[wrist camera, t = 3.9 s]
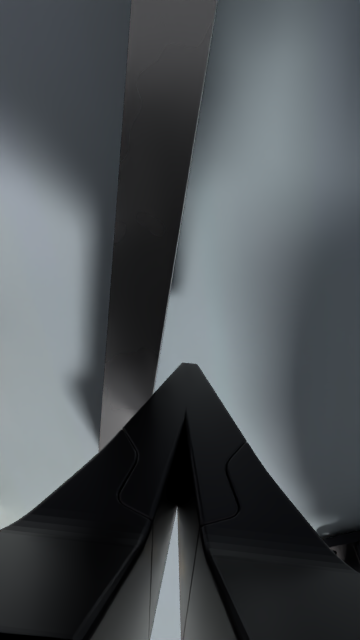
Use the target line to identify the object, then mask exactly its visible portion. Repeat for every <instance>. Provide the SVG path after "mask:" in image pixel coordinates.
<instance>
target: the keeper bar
mask: <svg viewBox="0 0 360 640" xmlns="http://www.w3.org/2000/svg"><path fill="white" fill-rule="evenodd" d="M217 4H218V0H131V14H130V27H129V41H128V55H127V69H126V82H125V96H124V110H123V124H122V137H121V151H120V165H119V178H118V192H117V206H116V220H115V233H114V247H113V261H112V274H111V288H110V302H109V316H108V329H107V343H106V357H105V370H104V384H103V398H102V412H101V425H100V439H99V452H100V451H101V450H102V449H103V448H104V447H105V446H106V445H107V444H108V443H109V441H110V440H111V439H112V438H113V437H114V436H115V435H116V434H117V433H118V432H119V431H120V430H122V428H123V427H124V425H125V424H126V423H127V422H128V421H129V420H130V419H131V418H132V417H133V416H134V415H135V413H136V412H137V411H138V410H139V409H140V408H141V407H142V406H143V405H144V404H145V403H146V402H147V400H148V399H149V398H150V397H151V396H152V395H153V394H154V388H155V382H156V376H157V370H158V364H159V358H160V351H161V345H162V339H163V333H164V327H165V321H166V315H167V309H168V303H169V297H170V291H171V284H172V278H173V272H174V266H175V260H176V254H177V248H178V242H179V236H180V230H181V224H182V217H183V211H184V205H185V199H186V193H187V187H188V181H189V175H190V169H191V163H192V157H193V150H194V144H195V138H196V132H197V126H198V120H199V114H200V108H201V102H202V96H203V90H204V83H205V77H206V71H207V65H208V59H209V53H210V47H211V41H212V35H213V29H214V23H215V16H216V10H217Z"/></svg>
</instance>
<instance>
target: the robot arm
mask: <svg viewBox="0 0 360 640" xmlns="http://www.w3.org/2000/svg"><path fill="white" fill-rule="evenodd" d="M176 510H177V512H178V548H179V584H180V620H181V640H360V531H357V532H353V533H349V534H344V535H340V536H335V537H331V538H326V539H323V540H322V539H321V537H320V536H319V535H318V534H317V533H316V531H315V530H314V529H313V528H312V526H311V525H310V524H309V523H308V522H307V520H306V519H305V518H304V517H303V516H302V514H301V513H300V512H299V511H298V509H297V508H296V507H295V506H294V505H293V503H292V502H291V501H290V500H289V498H288V497H287V496H286V495H285V494H284V492H283V491H282V490H281V489H280V487H279V486H278V485H277V483H276V482H275V481H274V480H273V478H272V477H271V476H270V474H269V473H268V472H267V471H266V469H265V468H264V466H263V465H262V463H261V462H260V460H259V459H258V458H257V456H256V455H255V453H254V452H253V450H252V448H251V447H250V445H249V444H248V443H247V442H246V439H245V438H244V436H243V435H242V433H241V431H240V430H239V428H238V427H237V425H236V424H235V422H234V421H233V419H232V417H231V416H230V414H229V413H228V411H227V410H226V408H225V407H224V405H223V403H222V402H221V400H220V399H219V397H218V396H217V394H216V393H215V391H214V389H213V388H212V386H211V385H210V383H209V382H208V380H207V379H206V377H205V375H204V374H203V372H202V371H201V369H200V368H199V366H198V365H197V364H192V363H182V364H181V365H180V366H179V367H178V368H177V369H176V370H175V371H174V372H173V373H172V374H171V375H170V376H169V378H168V379H167V380H166V381H165V382H164V383H163V384H162V385H161V386H160V387H159V388H158V390H157V391H156V392H155V393H154V394H153V395H152V396H151V397H150V398H149V399H148V400H147V402H146V403H145V404H144V405H143V406H142V407H141V408H140V409H139V410H138V411H137V412H136V413H135V415H134V416H133V417H132V418H131V419H130V420H129V421H128V422H127V423H126V424H125V425H124V427H123V428H122V430H120V431H119V432H118V433H117V434H116V435H115V436H114V437H113V438H112V439H111V440H110V441H109V443H108V444H107V445H106V446H105V447H104V448H103V449H102V450H101V451H100V452H99V453H98V454H96V455H95V456H94V457H93V458H92V459H91V460H90V461H89V462H88V463H86V464H85V465H84V466H83V467H82V468H81V469H80V470H79V471H77V472H76V473H75V474H74V475H73V476H72V477H70V478H69V479H68V480H67V481H66V482H65V483H63V484H62V485H61V486H60V487H59V488H58V489H56V490H55V491H54V492H53V493H52V494H50V495H49V496H48V497H47V498H46V499H45V500H43V501H42V502H41V503H40V504H39V505H38V506H36V507H35V508H34V509H33V510H31V511H30V512H29V513H28V514H26V515H25V516H23V517H22V518H21V519H19V520H18V521H16V522H14V523H12V524H11V525H9V526H7V527H5V528H3V529H1V530H0V640H150V637H151V632H152V627H153V622H154V618H155V613H156V608H157V603H158V598H159V593H160V588H161V583H162V578H163V573H164V568H165V564H166V559H167V554H168V549H169V544H170V539H171V534H172V529H173V524H174V519H175V515H176Z"/></svg>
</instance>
